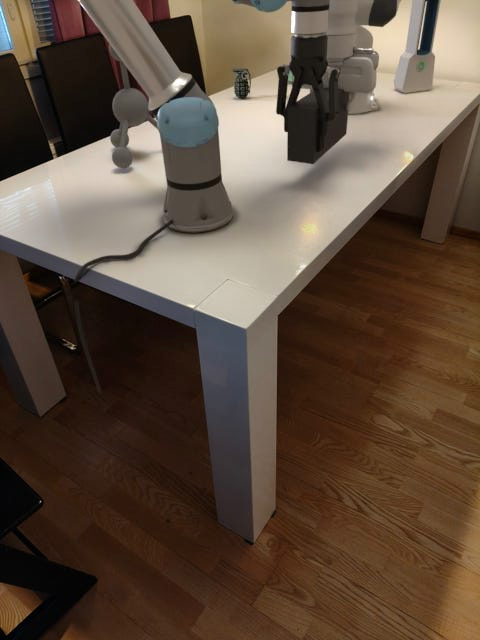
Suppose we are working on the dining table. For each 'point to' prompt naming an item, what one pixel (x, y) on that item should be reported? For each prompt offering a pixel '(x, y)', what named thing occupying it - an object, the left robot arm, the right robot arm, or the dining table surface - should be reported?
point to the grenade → (242, 83)
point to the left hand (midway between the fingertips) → (305, 148)
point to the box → (313, 127)
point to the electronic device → (419, 63)
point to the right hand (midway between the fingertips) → (332, 109)
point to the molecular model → (127, 116)
